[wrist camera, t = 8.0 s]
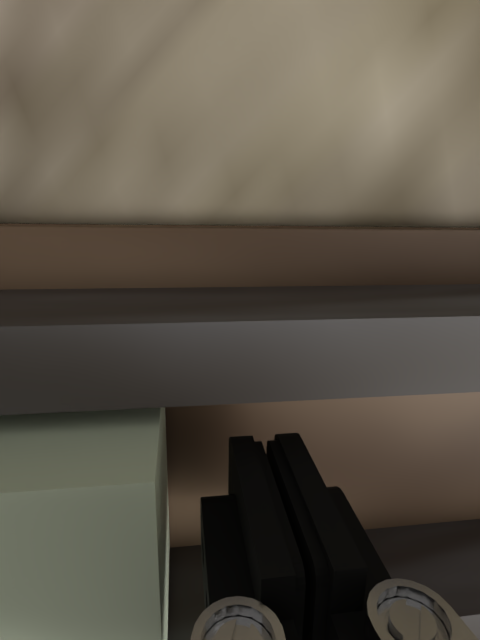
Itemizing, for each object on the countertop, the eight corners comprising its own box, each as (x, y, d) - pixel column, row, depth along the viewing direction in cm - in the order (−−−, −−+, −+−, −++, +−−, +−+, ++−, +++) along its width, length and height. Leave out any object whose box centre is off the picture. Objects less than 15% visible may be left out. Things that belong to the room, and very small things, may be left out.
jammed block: (-56, 377, 10) (-228, 509, 6) (163, 369, 11) (154, 482, 6) (-22, 559, 11) (-139, 771, 7) (169, 541, 12) (165, 725, 8)
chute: (-139, 222, 10) (-392, 243, 5) (730, 229, 13) (1006, 246, 9) (-51, 622, 13) (-165, 835, 9) (627, 548, 16) (789, 676, 12)
